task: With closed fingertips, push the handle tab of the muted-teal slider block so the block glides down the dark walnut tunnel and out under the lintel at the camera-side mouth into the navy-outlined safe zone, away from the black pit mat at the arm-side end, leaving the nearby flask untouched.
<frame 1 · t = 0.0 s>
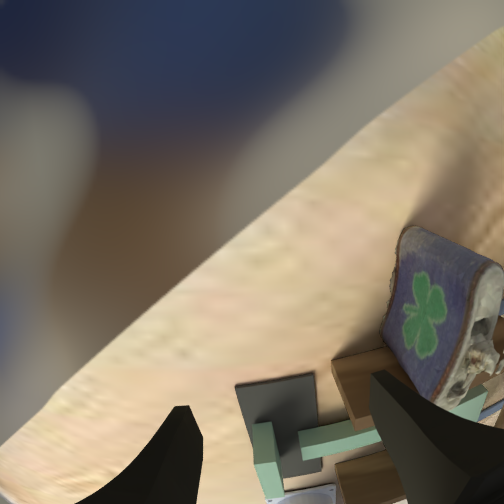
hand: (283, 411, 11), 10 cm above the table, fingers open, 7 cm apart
pit mat: (284, 436, 24), on the table
teal block: (375, 437, 22), point 3 cm above the table, slide at 0.0 cm
flask: (402, 286, 21), on the table
tunnel: (414, 402, 24), on the table
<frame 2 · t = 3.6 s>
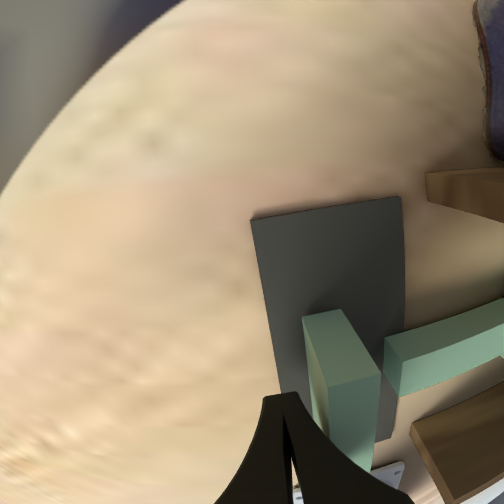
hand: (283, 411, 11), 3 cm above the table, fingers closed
pit mat: (341, 359, 14), on the table
flask: (494, 76, 10), on the table
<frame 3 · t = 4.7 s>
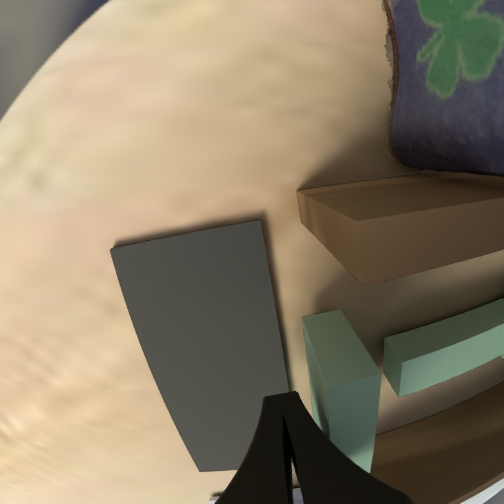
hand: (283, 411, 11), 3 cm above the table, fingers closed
pit mat: (220, 381, 14), on the table
flask: (410, 67, 10), on the table
tunnel: (461, 323, 13), on the table
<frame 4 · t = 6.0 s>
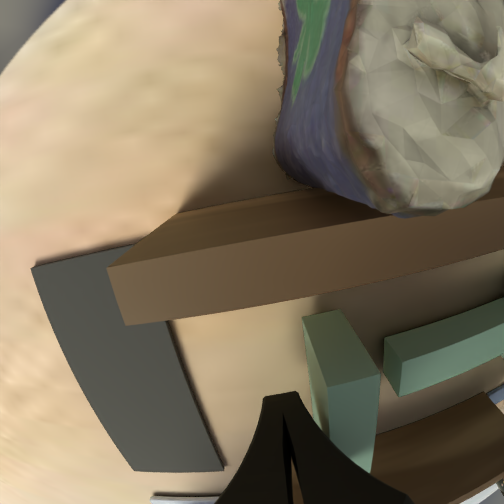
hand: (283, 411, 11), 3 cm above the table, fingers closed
pit mat: (133, 388, 14), on the table
flask: (310, 68, 10), on the table
tunnel: (388, 347, 14), on the table
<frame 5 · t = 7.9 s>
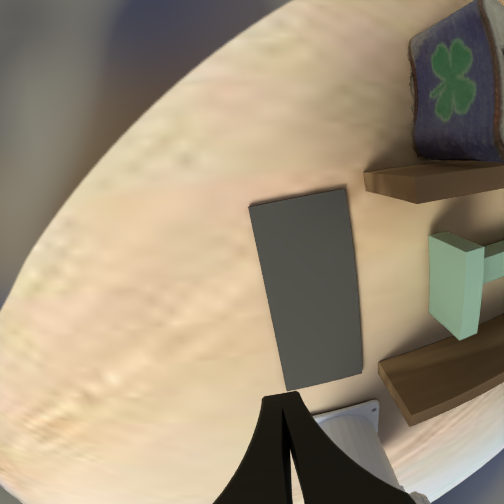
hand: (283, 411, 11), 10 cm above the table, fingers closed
pit mat: (314, 301, 21), on the table
flask: (424, 96, 17), on the table
tunnel: (464, 261, 20), on the table
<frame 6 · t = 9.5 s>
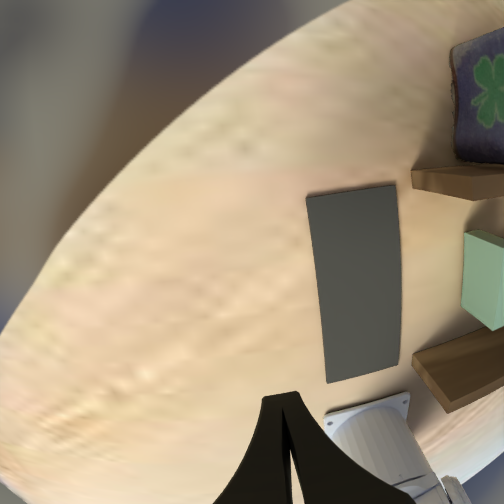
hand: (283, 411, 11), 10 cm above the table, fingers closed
pit mat: (361, 293, 21), on the table
flask: (462, 103, 17), on the table
tunnel: (491, 259, 20), on the table
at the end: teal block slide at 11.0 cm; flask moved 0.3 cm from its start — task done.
